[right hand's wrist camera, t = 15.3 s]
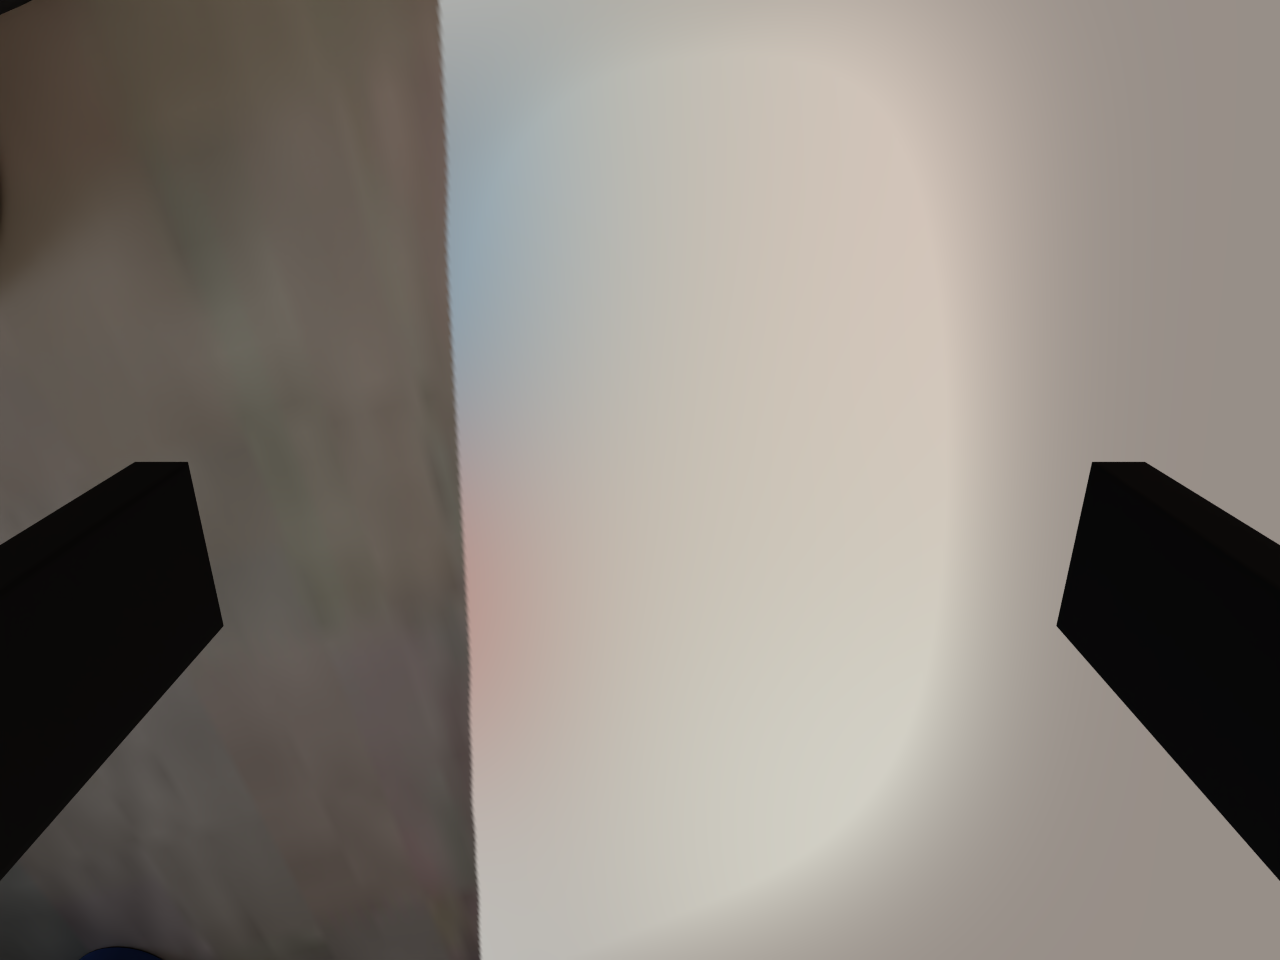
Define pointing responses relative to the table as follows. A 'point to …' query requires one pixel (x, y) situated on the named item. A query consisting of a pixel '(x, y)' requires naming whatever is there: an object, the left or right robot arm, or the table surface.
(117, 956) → the canister
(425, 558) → the table surface
